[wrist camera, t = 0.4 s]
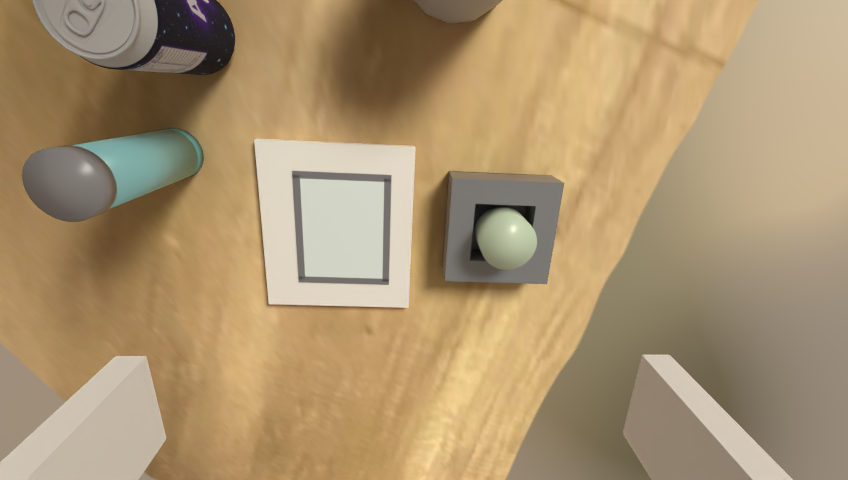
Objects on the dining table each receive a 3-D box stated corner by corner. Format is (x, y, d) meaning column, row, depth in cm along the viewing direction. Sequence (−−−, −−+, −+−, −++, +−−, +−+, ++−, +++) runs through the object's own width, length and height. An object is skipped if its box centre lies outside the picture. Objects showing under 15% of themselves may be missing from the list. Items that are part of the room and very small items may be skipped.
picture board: (257, 138, 34) (253, 139, 33) (415, 145, 35) (415, 147, 34) (271, 300, 39) (268, 304, 38) (408, 304, 40) (408, 308, 39)
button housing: (449, 171, 35) (452, 178, 33) (551, 175, 36) (564, 183, 33) (442, 266, 39) (444, 281, 36) (536, 270, 39) (546, 284, 36)
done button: (477, 204, 34) (483, 216, 31) (529, 206, 35) (540, 218, 32) (472, 253, 36) (478, 269, 33) (522, 255, 36) (532, 270, 33)
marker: (148, 126, 33) (12, 146, 22) (200, 128, 33) (93, 150, 22) (157, 176, 35) (33, 220, 23) (207, 178, 35) (109, 223, 23)
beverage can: (254, 30, 31) (168, -3, 20) (214, 91, 33) (112, 92, 21) (186, -27, 30) (51, -97, 18) (147, 39, 31) (1, 11, 20)
